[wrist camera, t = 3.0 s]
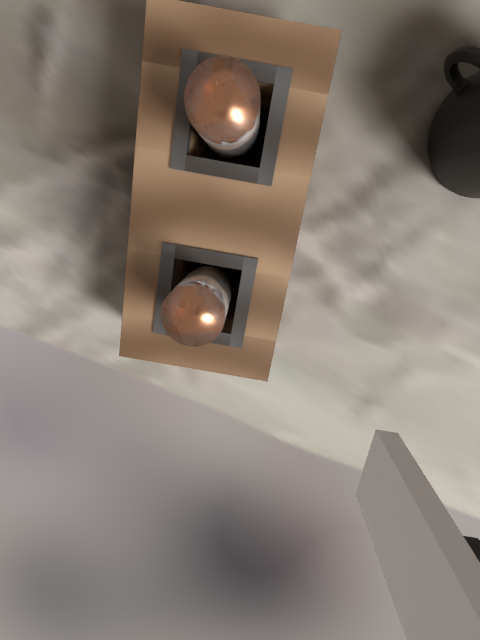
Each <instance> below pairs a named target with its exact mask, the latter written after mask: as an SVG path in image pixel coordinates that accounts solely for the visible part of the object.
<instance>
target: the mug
mask: <svg viewBox="0 0 480 640" xmlns="http://www.w3.org/2000/svg"><path fill="white" fill-rule="evenodd" d="M458 62H467V63H471V64H473V65H475V66H477V67H479V68H480V49H479V48H476V47H470V46H463V47H459V48H457V49H455V50H454V51H452V52H451V53H450V54H449V55H448V56H447V58H446V59H445V61H444V73H445V77H446V79H447V81H448V83H449V84H450V86H451V87H452V88H453V91H452V92H451V93H450V94H449V95H448V96H447V97H446V99H445V100H444V101H443V103H442V104H441V106H440V107H439V109H438V111H437V113H436V115H435V117H434V120H433V122H432V126H431V129H430V134H429V143H428V149H429V158H430V162H431V165H432V168H433V170H434V173H435V174H436V176H437V177H438V179H439V180H440V181H441V182H442V184H443V185H444V186H445V187H447V188H448V189H449V190H451V191H452V192H454V193H456V194H458V195H461V196H465V197H470V198H480V72H478V73H477V74H475V75H473V76H471V77H470V78H468V79H466V78H463V77H462V75H461V74H460V72H459V70H458Z"/></svg>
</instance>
